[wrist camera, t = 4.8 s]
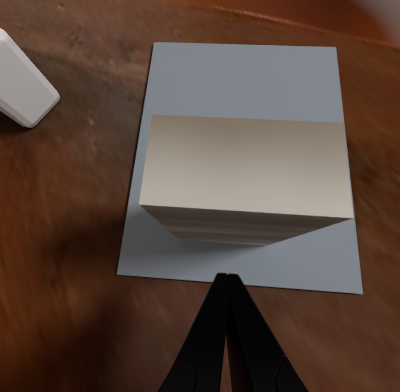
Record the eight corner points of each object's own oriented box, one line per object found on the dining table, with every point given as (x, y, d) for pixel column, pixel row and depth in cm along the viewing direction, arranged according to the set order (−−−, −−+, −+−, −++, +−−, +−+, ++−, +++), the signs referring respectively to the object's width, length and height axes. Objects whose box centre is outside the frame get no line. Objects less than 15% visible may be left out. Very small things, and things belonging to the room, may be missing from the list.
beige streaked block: (266, 246, 16) (353, 218, 6) (179, 239, 16) (138, 204, 7) (266, 203, 17) (343, 122, 7) (183, 198, 17) (152, 114, 8)
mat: (359, 293, 15) (362, 293, 15) (118, 274, 16) (117, 274, 16) (334, 50, 21) (335, 47, 21) (155, 45, 22) (154, 42, 21)
